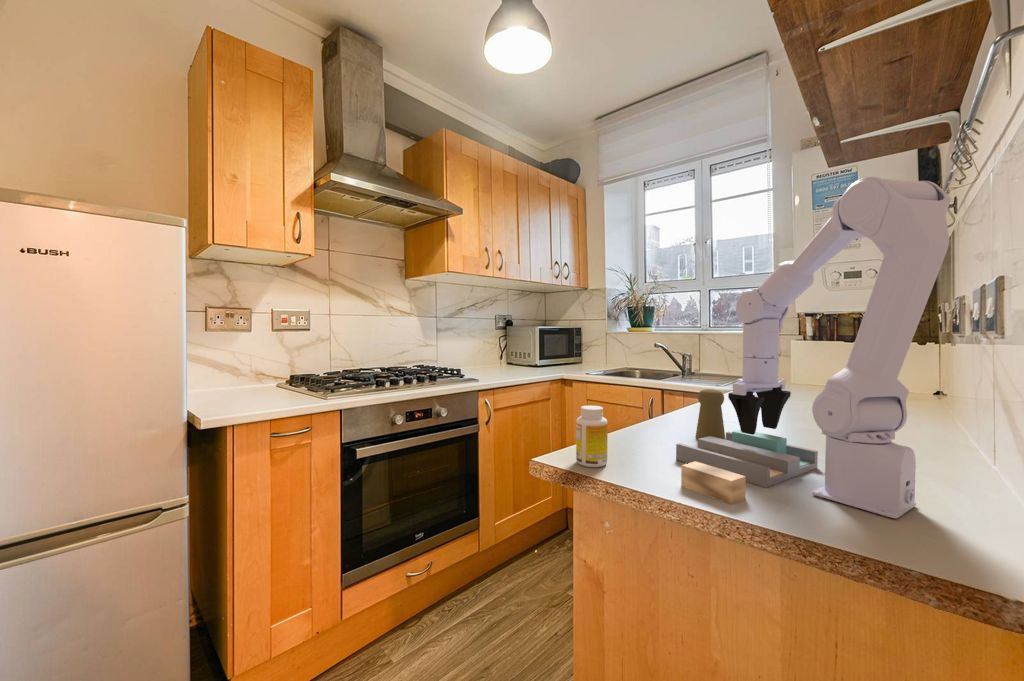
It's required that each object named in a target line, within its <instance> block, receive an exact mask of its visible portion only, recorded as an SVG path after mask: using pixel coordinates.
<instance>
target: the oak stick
mask: <svg viewBox="0 0 1024 681" xmlns="http://www.w3.org/2000/svg"><path fill="white" fill-rule="evenodd" d="M680 470H681V474H680V476H681V479H680V480H681V482H680V483H681V485H680V486H681V487H682V486H683V487H682V488H685V487H687V488H686V489H688V488H689V489H688V490H690V489H692V490H691V491H693V490H694V492H696V491H697V492H696V493H699V492H700V493H699V494H701V493H702V495H704V494H705V495H704V496H707V495H708V496H707V497H709V496H711V498H712V497H714V498H713V499H715V498H716V500H718V499H719V500H718V501H720V500H722V501H721V502H723V501H724V502H723V503H727V504H730V505H731V506H732V505H734V504H737V503H740V502H742V501H743V499H744V500H746V497H747V496H746V491H747V489H746V485H747V484H746V483H747V482H746V476H743V475H740V474H736V473H733V472H730V471H726V470H723V469H720V468H716V467H713V466H710V465H706V464H703V463H699V462H696V461H695V462H691V463H688V464H687V463H683V464H681V469H680ZM741 500H742V501H741ZM736 502H737V503H736Z"/></svg>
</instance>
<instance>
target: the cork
mask: <svg viewBox="0 0 1024 681" xmlns="http://www.w3.org/2000/svg"><path fill="white" fill-rule="evenodd" d="M697 400H698V402H699V404H700V405H699V406H700V407H699V412H698V419H697V423H696V424H697V425H696V431H695V437H694V439H695V438H696V439H697V441H698V439H700V438H704V437H708V436H712V437H716V438H720V439H725V440H726V431H725V425H724V417H723V409H722V405H723V404H724V402H725V395H724V393H723V391H721V390H718V389H714V388H713V389H712V388H708V389H707V388H706V389H701V390H700V391H699V392H698V394H697ZM696 439H695V440H696Z"/></svg>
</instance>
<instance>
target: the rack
mask: <svg viewBox="0 0 1024 681" xmlns="http://www.w3.org/2000/svg"><path fill="white" fill-rule="evenodd" d="M725 439H726V440H725ZM725 439H720V438H716V437H712V436H708V437H704V438H700V439H698V440H697V446H696V447H695V446H691V445H687V444H684V443H680V442H678V443H676V445H675V446H676V447H675V451H676V452H675V454H676V455H675V461H678V460H679V461H678V462H681V461H682V462H681V463H684V462H686V463H685V464H687V463H691V462H695V461H696V462H699V463H703V464H706V465H710V466H713V467H716V468H720V469H723V470H726V471H730V472H733V473H736V474H740V475H743V476H746V481H747V482H746V483H749V482H751V483H750V484H752V483H753V485H755V484H756V486H758V485H759V486H758V487H762V488H765V487H766V488H765V489H767V488H770V487H773V486H775V485H777V484H780V483H782V482H785V481H788V480H790V479H792V478H795V477H798V476H800V475H803V474H806V473H808V472H811V471H813V470H816V469H817V468H818V459H819V458H818V456H819V455H818V450H816V449H815V450H814V449H810V448H806V447H802V446H796V445H793V444H789V443H787V446H786V454H784V453H780V452H776V451H771V450H767V449H763V448H759V447H754V446H750V445H746V444H742V443H737V442H733V441H732V431H725ZM772 485H773V486H772Z"/></svg>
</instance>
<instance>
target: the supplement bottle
mask: <svg viewBox="0 0 1024 681" xmlns="http://www.w3.org/2000/svg"><path fill="white" fill-rule="evenodd" d="M575 421H576V422H575V426H576V427H575V428H576V429H575V431H576V432H575V433H576V434H575V436H576V437H575V439H576V440H575V441H576V442H575V444H576V446H575V448H576V450H575V454H576V456H575V457H576V458H575V460H576V463H578V465H581V466H582V467H586V468H602V467H604V466H606V465H607V463H608V419H607V418H606V417H604V407H603V406H600V405H591V404H590V405H583V406H582V405H581V406H580V416H579V417H577V418H576V420H575Z"/></svg>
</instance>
